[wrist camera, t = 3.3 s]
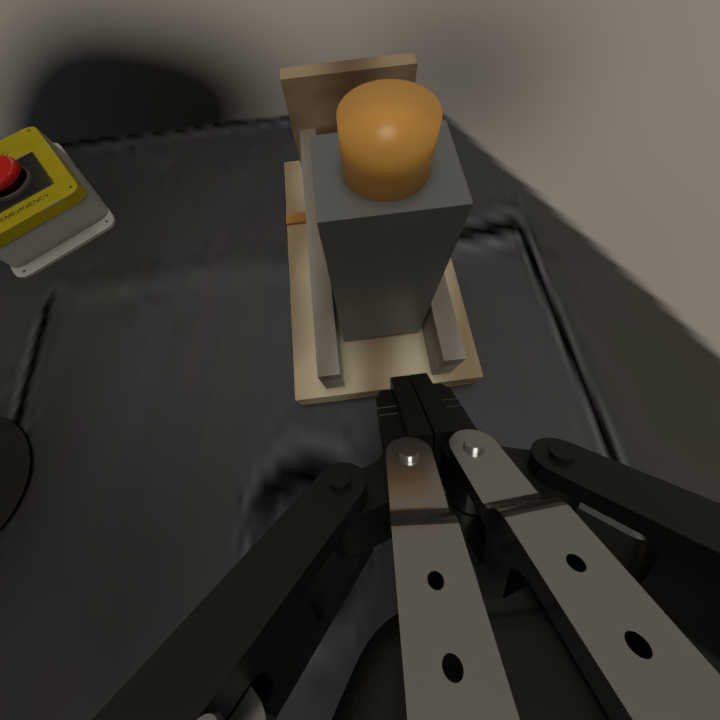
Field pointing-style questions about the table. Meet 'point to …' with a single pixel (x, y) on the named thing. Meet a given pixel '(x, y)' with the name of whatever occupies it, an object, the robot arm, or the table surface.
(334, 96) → the track
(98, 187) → the table surface
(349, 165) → the orange-capped grey pillar
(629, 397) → the table surface
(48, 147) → the emergency button
